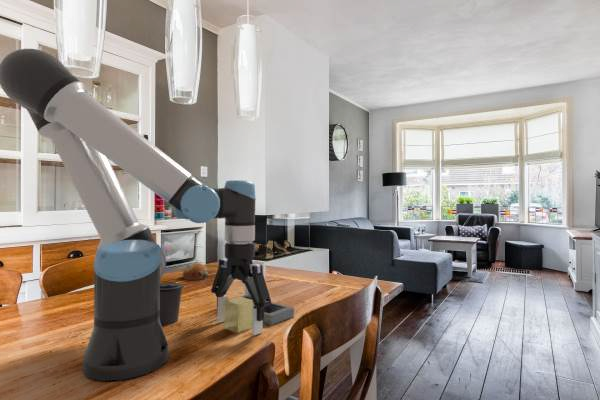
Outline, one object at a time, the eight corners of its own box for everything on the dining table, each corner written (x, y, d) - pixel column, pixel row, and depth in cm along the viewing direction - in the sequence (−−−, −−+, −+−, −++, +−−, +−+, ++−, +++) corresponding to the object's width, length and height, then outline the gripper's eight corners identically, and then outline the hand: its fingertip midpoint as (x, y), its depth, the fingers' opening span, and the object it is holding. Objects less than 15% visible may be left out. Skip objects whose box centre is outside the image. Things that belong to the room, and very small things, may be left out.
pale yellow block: (237, 333, 87) (238, 304, 87) (224, 328, 90) (224, 300, 90) (253, 327, 91) (253, 300, 91) (239, 323, 94) (240, 296, 94)
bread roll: (203, 283, 153) (200, 265, 155) (214, 276, 146) (210, 258, 149) (181, 287, 146) (177, 268, 149) (191, 280, 139) (188, 260, 142)
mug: (258, 305, 110) (258, 265, 110) (239, 302, 113) (239, 264, 113) (273, 297, 119) (273, 260, 119) (255, 294, 122) (255, 259, 122)
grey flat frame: (271, 325, 92) (271, 315, 92) (221, 309, 105) (221, 301, 105) (293, 317, 99) (293, 307, 99) (244, 303, 112) (244, 295, 112)
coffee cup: (165, 328, 89) (165, 288, 89) (143, 323, 93) (144, 284, 93) (189, 319, 96) (190, 282, 96) (168, 314, 100) (169, 278, 100)
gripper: (286, 244, 86) (285, 334, 86) (220, 237, 101) (220, 313, 101) (264, 248, 80) (263, 344, 80) (198, 239, 95) (197, 320, 95)
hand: (239, 327), depth 90 cm, fingers open, 12 cm apart
